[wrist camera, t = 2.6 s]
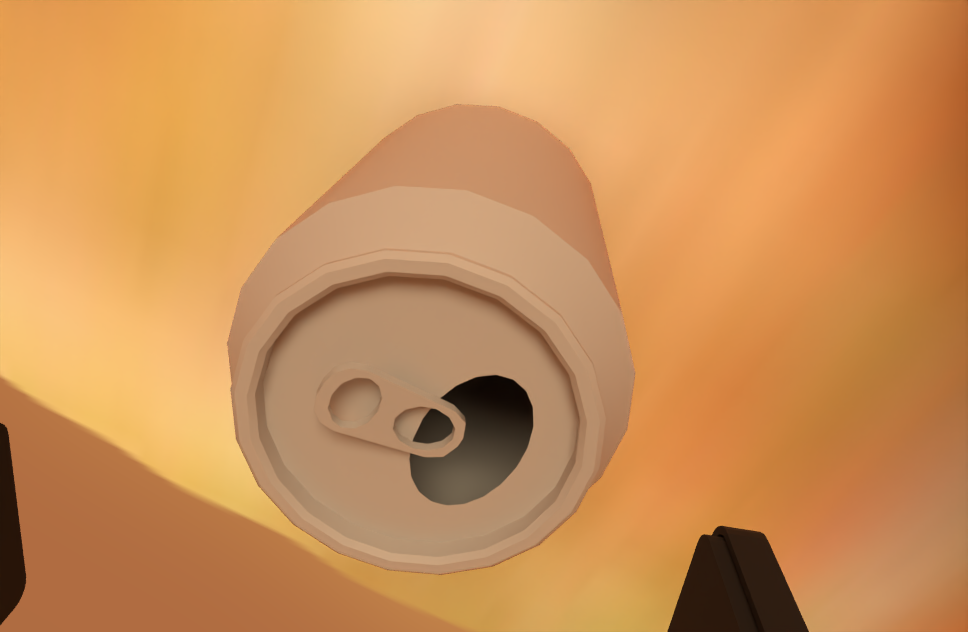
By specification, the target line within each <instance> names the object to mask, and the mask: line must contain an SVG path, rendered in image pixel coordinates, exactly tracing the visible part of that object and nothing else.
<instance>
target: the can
mask: <svg viewBox="0 0 968 632" xmlns="http://www.w3.org/2000/svg"><path fill="white" fill-rule="evenodd" d="M227 345H228V354H229V363H230V372H231V381H232V385H231V398H232V407H233V416H234V425H235V434H236V440H237V442H238V444H239V446H240V449H241V451H242V453H243V455H244V457H245V459H246V461H247V463H248V465H249V468H250V470H251V472H252V474H253V476H254V478H255V480H256V482H257V484H258V486H259V487H260V488H261V489H262V490H263V491H264V493H265V494H266V495H267V496H268V497H269V498H270V499H271V500H272V501H273V503H274V504H275V505H276V506H277V507H278V508H279V509H280V510H281V511H282V512H283V514H284V515H285V516H286V517H287V518H288V519H289V520H290V521H291V522H292V524H294V525H295V526H297V527H298V528H300V529H301V530H303V531H305V532H306V533H308V534H309V535H311V536H312V537H314V538H315V539H317V540H319V541H320V542H322V543H323V544H325V545H326V546H328V547H329V548H331V549H332V550H334V551H336V552H337V553H340V554H343V555H346V556H349V557H351V558H354V559H357V560H360V561H363V562H366V563H369V564H372V565H375V566H378V567H381V568H384V569H387V570H394V571H405V572H416V573H428V574H439V575H442V574H449V573H455V572H461V571H467V570H473V569H479V568H485V567H492V566H495V565H497V564H499V563H501V562H503V561H505V560H508V559H510V558H512V557H514V556H516V555H518V554H521V553H523V552H525V551H527V550H529V549H531V548H534V547H536V546H538V545H540V544H541V543H542V542H543V541H544V540H545V539H546V538H547V537H549V536H550V535H551V534H552V533H553V532H554V531H555V530H556V529H557V528H558V527H560V526H561V525H562V524H563V523H564V522H565V521H566V520H567V519H568V518H570V517H571V516H572V515H573V514H574V513H575V512H576V511H577V509H578V507H579V505H580V503H581V502H582V500H583V498H584V496H585V494H586V492H587V490H588V489H589V488H590V487H591V486H592V485H593V484H594V483H595V482H597V481H598V480H599V479H600V478H601V476H602V475H603V473H604V471H605V469H606V467H607V465H608V464H609V462H610V460H611V458H612V456H613V454H614V453H615V451H616V449H617V447H618V445H619V443H620V442H621V440H622V438H623V436H624V434H625V432H626V431H627V427H628V420H629V413H630V406H631V400H632V393H633V386H634V379H635V369H634V365H633V360H632V356H631V351H630V347H629V342H628V338H627V333H626V329H625V324H624V320H623V315H622V311H621V307H620V303H619V298H618V294H617V290H616V286H615V282H614V278H613V274H612V270H611V265H610V261H609V257H608V253H607V249H606V245H605V241H604V237H603V232H602V228H601V224H600V220H599V216H598V212H597V208H596V204H595V199H594V195H593V191H592V187H591V183H590V182H589V180H588V178H587V177H586V175H585V173H584V172H583V170H582V168H581V167H580V165H579V163H578V162H577V160H576V159H575V157H574V155H573V154H572V152H571V150H570V149H569V148H568V147H567V146H566V145H564V144H563V143H562V142H561V141H560V140H558V139H557V138H556V137H555V136H554V135H553V134H551V133H550V132H549V131H548V130H547V129H545V128H544V127H543V126H542V125H541V124H539V123H538V122H536V121H534V120H531V119H529V118H526V117H524V116H521V115H519V114H516V113H514V112H511V111H509V110H506V109H504V108H501V107H497V106H479V105H461V104H456V105H453V106H449V107H445V108H442V109H438V110H435V111H431V112H427V113H424V114H420V115H417V116H416V117H414V118H413V119H411V120H410V121H408V122H407V123H405V124H404V125H403V126H401V127H400V128H398V129H397V130H395V131H394V132H392V133H391V134H389V135H388V136H387V137H385V138H384V139H383V140H382V141H381V142H380V143H378V144H377V145H376V146H375V147H374V148H373V149H372V150H371V151H370V152H369V153H368V154H367V155H366V156H365V157H363V158H362V159H361V160H360V161H359V162H358V163H357V164H356V165H355V166H354V167H353V168H352V169H351V170H349V171H348V172H347V173H346V174H345V175H344V176H343V177H342V178H341V179H340V180H339V181H338V182H337V183H336V184H334V185H333V186H332V187H331V188H330V189H329V190H328V191H327V192H326V193H325V194H324V195H323V196H322V197H321V198H319V199H318V200H317V201H316V202H315V203H314V204H313V205H312V206H311V207H310V208H309V209H308V210H307V211H305V212H304V213H303V214H302V215H301V216H300V217H299V218H298V219H297V220H296V221H295V222H294V223H293V224H292V225H290V226H289V227H288V228H287V229H286V230H285V231H284V232H283V233H282V234H281V235H280V236H279V237H278V238H276V240H275V241H274V242H273V244H272V245H271V247H270V248H269V249H268V251H267V252H266V254H265V255H264V257H263V258H262V259H261V261H260V262H259V264H258V265H257V266H256V268H255V269H254V271H253V272H252V273H251V275H250V276H249V278H248V279H247V281H246V282H245V283H244V285H243V286H242V288H241V291H240V295H239V299H238V303H237V307H236V311H235V315H234V319H233V323H232V327H231V331H230V335H229V339H228V343H227Z"/></svg>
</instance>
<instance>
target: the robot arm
mask: <svg viewBox="0 0 968 632" xmlns="http://www.w3.org/2000/svg"><path fill="white" fill-rule="evenodd" d="M25 584H26V573H25V564H24V556H23V549H22V540H21V532H20V524H19V516H18V508H17V499H16V492H15V484H14V475H13V467H12V459H11V451H10V443H9V435H8V431H7V428H6V427H5V425H3V424H1V423H0V625H1V624H2V622H3V621H4V620H5V619H6V618H7V617H8V615H9V614H10V613H11V612H12V611H13V609H14V608H15V606H16V605H17V604H18V603H19V601H20V599H21V597H22V594H23V591H24V589H25ZM668 632H809V631H808V629H807V626H806V624H805V622H804V620H803V618H802V615H801V613H800V611H799V609H798V606H797V604H796V602H795V600H794V597H793V595H792V593H791V591H790V589H789V586H788V584H787V582H786V580H785V577H784V575H783V573H782V571H781V568H780V566H779V564H778V562H777V560H776V557H775V555H774V553H773V551H772V548H771V546H770V544H769V542H768V540H767V538H766V536H765V535H764V534H763V533H761V532H757V531H751V530H744V529H738V528H732V527H725V526H719V527H717V528H716V529H715V530H714V532H713V534H712V535H705V534H704V535H702V536H701V537H700V539H699V541H698V543H697V546H696V549H695V552H694V555H693V558H692V561H691V564H690V567H689V570H688V573H687V576H686V579H685V582H684V585H683V587H682V590H681V593H680V596H679V599H678V602H677V605H676V608H675V611H674V614H673V617H672V620H671V623H670V626H669V629H668Z"/></svg>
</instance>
